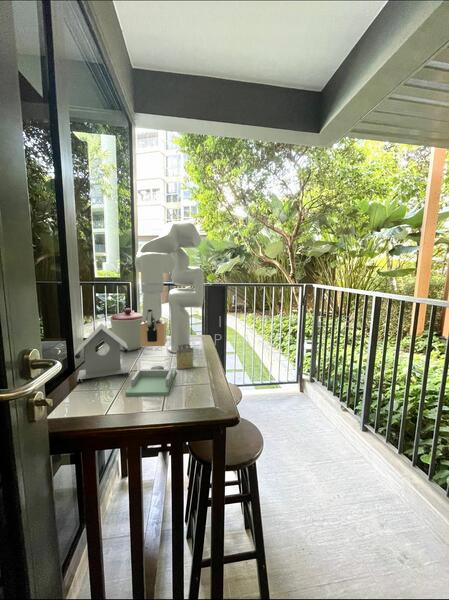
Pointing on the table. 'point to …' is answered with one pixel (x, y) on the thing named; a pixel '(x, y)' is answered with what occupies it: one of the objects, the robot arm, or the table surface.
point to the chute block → (160, 334)
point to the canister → (128, 328)
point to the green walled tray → (151, 382)
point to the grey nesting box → (102, 363)
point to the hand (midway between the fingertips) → (154, 338)
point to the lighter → (184, 357)
